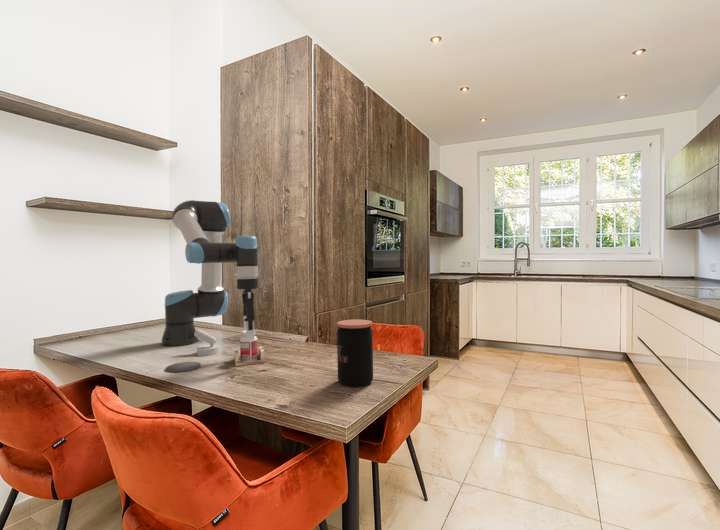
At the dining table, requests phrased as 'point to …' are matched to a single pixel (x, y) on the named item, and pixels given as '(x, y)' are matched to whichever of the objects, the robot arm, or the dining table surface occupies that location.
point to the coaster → (183, 367)
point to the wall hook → (207, 349)
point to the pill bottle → (248, 348)
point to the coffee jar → (355, 352)
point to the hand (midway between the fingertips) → (249, 336)
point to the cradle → (237, 363)
